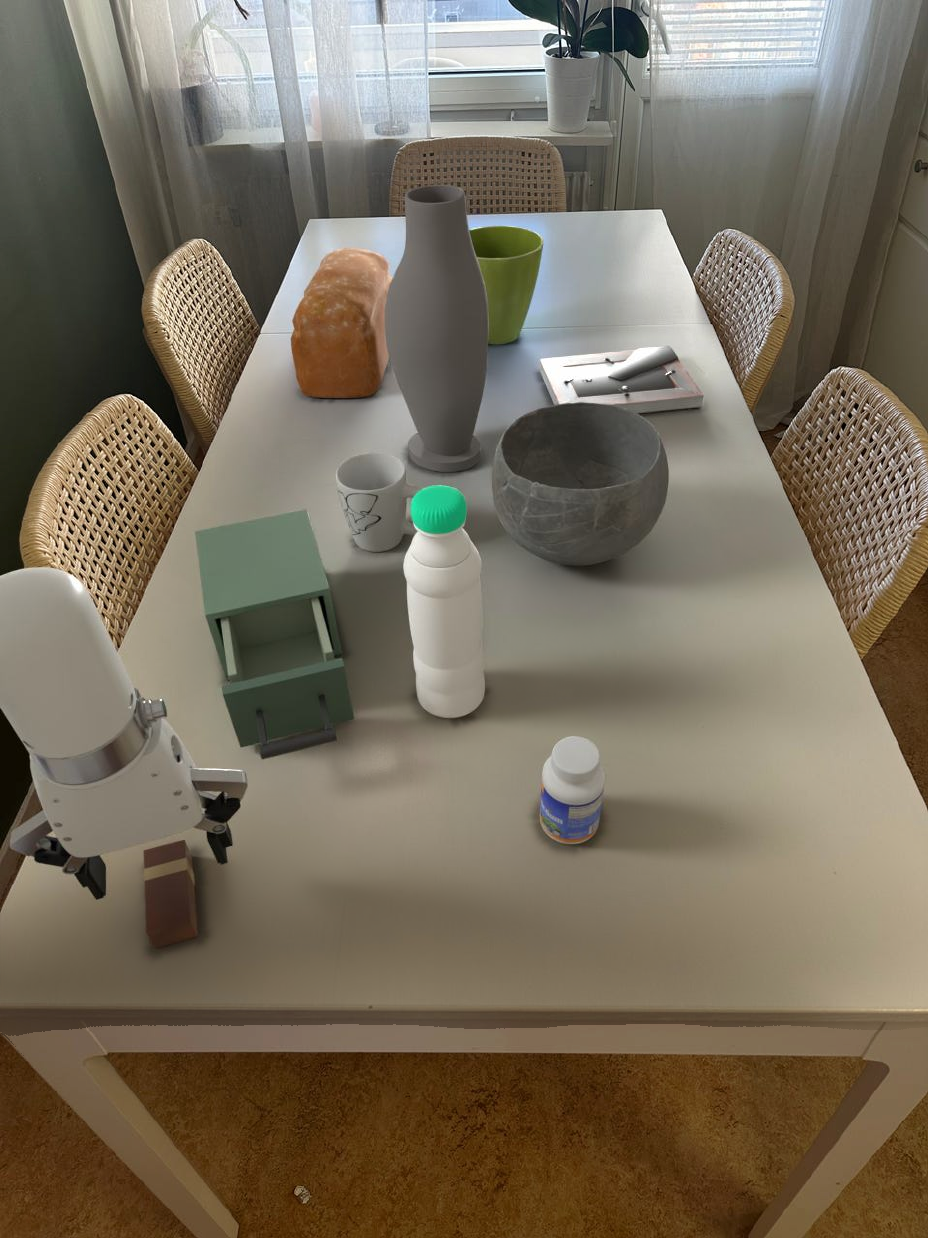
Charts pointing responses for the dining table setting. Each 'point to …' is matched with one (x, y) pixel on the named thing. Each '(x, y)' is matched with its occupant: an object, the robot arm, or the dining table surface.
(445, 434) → the vase
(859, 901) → the dining table surface
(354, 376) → the bread
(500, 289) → the flower pot
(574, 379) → the picture frame
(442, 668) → the water bottle
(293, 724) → the drawer
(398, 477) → the mug
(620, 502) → the bowl
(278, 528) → the cabinet
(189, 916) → the brown banded block
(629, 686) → the dining table surface
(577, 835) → the pill bottle
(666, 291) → the dining table surface
